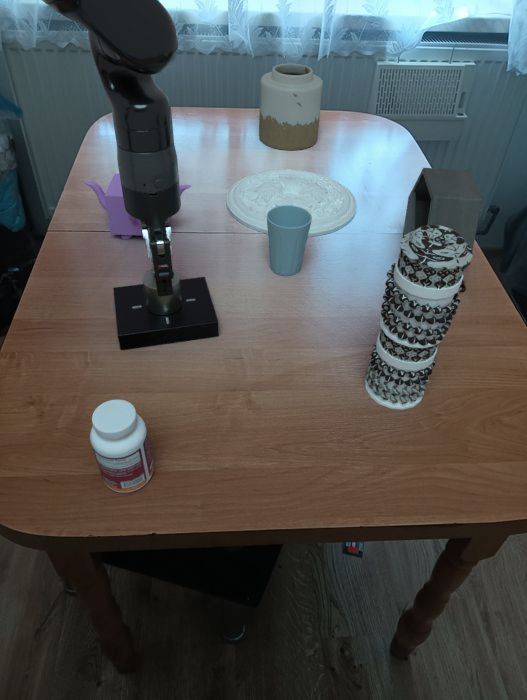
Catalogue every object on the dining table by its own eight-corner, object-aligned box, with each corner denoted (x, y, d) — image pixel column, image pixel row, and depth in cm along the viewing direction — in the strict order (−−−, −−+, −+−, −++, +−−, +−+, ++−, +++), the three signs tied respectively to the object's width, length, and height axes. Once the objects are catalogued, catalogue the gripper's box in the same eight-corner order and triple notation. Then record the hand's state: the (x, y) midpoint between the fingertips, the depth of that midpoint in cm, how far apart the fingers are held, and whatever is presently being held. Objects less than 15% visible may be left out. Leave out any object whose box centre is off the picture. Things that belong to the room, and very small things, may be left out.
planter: (401, 210, 106) (432, 147, 86) (440, 213, 105) (481, 151, 85) (399, 292, 102) (432, 246, 82) (440, 295, 102) (483, 250, 81)
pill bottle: (121, 445, 69) (107, 386, 61) (163, 462, 67) (154, 404, 59) (91, 483, 64) (72, 425, 57) (135, 503, 63) (121, 446, 55)
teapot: (125, 257, 99) (116, 203, 91) (91, 227, 106) (80, 174, 98) (194, 231, 106) (191, 179, 99) (157, 204, 113) (152, 154, 106)
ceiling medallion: (224, 236, 105) (224, 222, 103) (227, 172, 126) (227, 158, 123) (366, 238, 107) (369, 224, 105) (346, 174, 127) (348, 161, 125)
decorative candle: (382, 355, 82) (420, 207, 65) (437, 385, 78) (494, 234, 61) (349, 389, 77) (382, 237, 60) (407, 422, 73) (460, 269, 56)
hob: (120, 350, 81) (117, 334, 79) (115, 301, 89) (112, 286, 87) (218, 336, 84) (218, 321, 82) (205, 290, 92) (204, 275, 90)
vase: (257, 149, 135) (259, 77, 124) (260, 125, 147) (262, 58, 135) (318, 152, 135) (325, 81, 124) (316, 128, 147) (323, 61, 135)
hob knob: (184, 312, 83) (182, 284, 80) (147, 317, 82) (143, 289, 79) (179, 291, 87) (176, 263, 84) (144, 295, 86) (140, 267, 82)
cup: (256, 262, 99) (258, 211, 92) (290, 251, 102) (294, 201, 95) (279, 284, 95) (283, 232, 87) (314, 271, 98) (320, 220, 91)
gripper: (116, 154, 74) (132, 254, 85) (124, 205, 64) (141, 310, 76) (171, 150, 76) (180, 249, 87) (186, 199, 66) (194, 303, 77)
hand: (161, 277), depth 81 cm, fingers open, 8 cm apart
